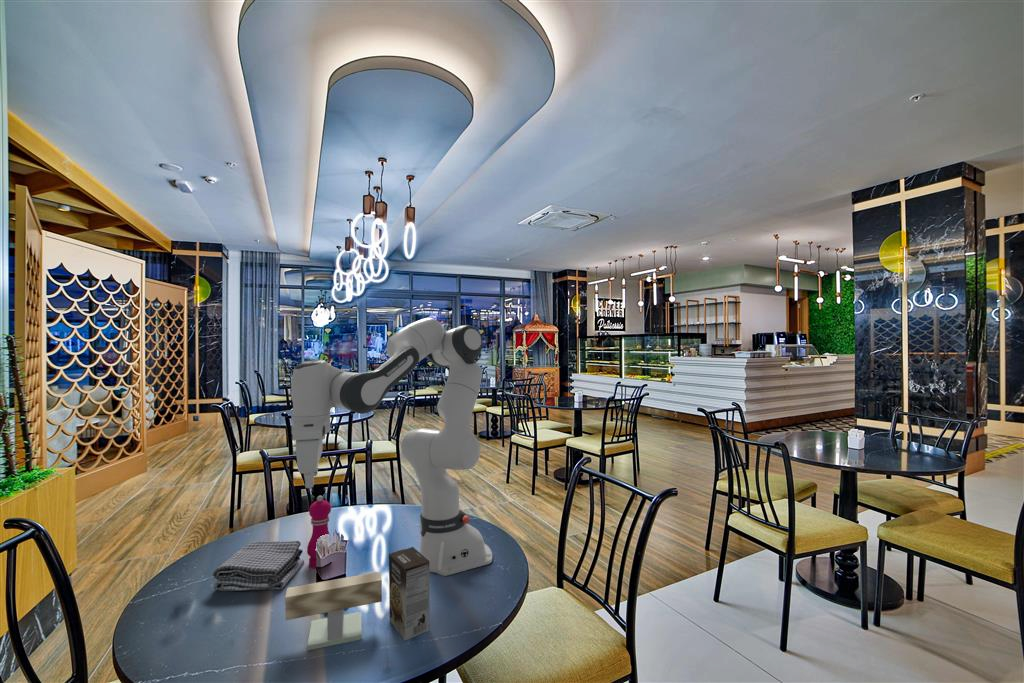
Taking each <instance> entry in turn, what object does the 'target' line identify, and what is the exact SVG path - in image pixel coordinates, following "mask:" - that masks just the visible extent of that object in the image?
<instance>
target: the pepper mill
mask: <svg viewBox="0 0 1024 683" xmlns="http://www.w3.org/2000/svg"><path fill="white" fill-rule="evenodd" d="M331 511H332V505H331V504H330V502H329V501H328V500H326V499H325V500H324V496H322V495H318V496H317V497H316V501H314V502H312V503H311V504H310V507H309V510H308V514H309V516H310V517H311V518H310V521H311V522H310V524H311V525H312V533H311V536H310V539H309V542H308V543H307V550H306V553H307V555H308V557H309V558H308V566H309V567H310V568H313V569H317V568H316V551H315V549H316V542H317V539H318V538H319V537H320V536H322V535H325V534H330V532H329V526H328V524H329V522H330V516H329V515H330V513H331Z"/></svg>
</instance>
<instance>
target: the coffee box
mask: <svg viewBox="0 0 1024 683" xmlns="http://www.w3.org/2000/svg"><path fill="white" fill-rule="evenodd" d="M430 573H431V572H430V561H429V560H428V559H426V558H425V557H424V556H423V555H422V554H421V553H419V550H417V549H416V548H415V547H414V546H412V547H408V548H403V549H400V550H397V551H393V552H390V553H389V554H388V579H389V581H388V582H389V585H388V586H389V588H388V589H389V590H388V592H389V593H388V594H389V596H388V597H389V599H388V600H389V622H390V623H391V624H392V626H393V627H394V628H395V629H396V631H397V632H398V633H399V635H400V636H401V637H402V639H403V640H404V641H408V640H410V639H413V638H415V637H417V636H419V635H422V634H424V633H426V632H429V631H430V629H431V628H430V602H431V600H430V598H431V596H430V595H431V594H430V593H431V592H430V590H431V587H430V586H431V585H430V580H431V579H430V577H431V574H430Z"/></svg>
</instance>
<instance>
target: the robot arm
mask: <svg viewBox="0 0 1024 683" xmlns="http://www.w3.org/2000/svg"><path fill="white" fill-rule="evenodd" d="M483 342H484V341H483V336H482V333H481V332H480V330H479V329H478V328H477V327H476V326H473V325H470V324H464V325H463V324H462V325H459V326H457V327H454V328H451V329H448V330H445V329H444V328H443V325H442V324H441V322H439V320H437V319H436V318H434V317H424V318H421V319H419V320H416V321H414V322H411V323H409V324H407V325H406V326H404V327H403V328H401V329H400V330H397V331H396V332H394V334H393V335H391V336H390V338H388V340H387V344H386V352H387V356H388V357H389V359H387V360H386V361H384V362H383V363H382V364H381V365H379V366H378V367H377V368H376V369H374V370H372V371H368V372H351V371H346V370H343V369H340V368H337V367H336V366H333V365H332V364H330V363H328V361H326V360H324V359H314V360H313V359H311V360H307V361H302V362H301V363H299V364H297V365H296V366H295V367H294V368H293V371H292V377H291V387H290V388H291V389H290V392H291V393H290V394H291V395H290V397H291V402H292V411H291V435H292V441H295V454H296V464H297V471H298V473H299V474H303V477H304V478H303V479H304V482H305V484H304V485H305V486H304V487H305V488H306V489H312V488H314V485H315V477H316V476H317V475H318V474H319V473H318V472H319V470H318V469H319V462H320V459H321V456H322V454H323V450H324V447H323V446H324V445H323V440H324V439H325V438H326V434H328V433H330V432H331V409H332V408H338V409H343V410H348V411H350V412H354V413H357V414H360V415H361V414H368V413H370V412H373V411H374V410H375V409H377V408H378V407H379V405H380V404H381V402H383V400H384V398H385V396H386V395H387V394H388V392H389V391H390V390H391V389H393V387H395V386H396V385H397V384H398V383H399V382H400V381H401V380H402V379H403V378H405V377H407V375H408V374H409V373H410V372H412V370H414V369H415V367H416V366H417V365H418V363H419V362H421V361H422V360H423V359H425V358H427V360H428V361H429V362H430V363H431V364H432V365H433V366H435V367H438V368H446V367H449V372H448V376H447V377H448V378H447V380H446V382H445V384H444V387H443V389H442V392H441V395H440V397H439V400H438V403H437V404H436V410H437V413H438V415H439V416H440V417H441V418H442V420H444V426H443V428H442V429H436V428H428V427H427V428H425V427H422V428H415V429H414V428H413V429H411V430H409V431H407V432H406V433H405V435H404V436H403V438H402V440H401V445H400V449H401V450H400V451H401V454H402V457H403V458H404V460H406V461H407V462H408V463H409V465H410V466H411V467H412V469H413V471H414V473H415V476H416V478H417V480H418V481H417V482H418V483H419V488H420V496H421V497H420V498H421V513H420V516H419V533H420V542H419V543H420V544H419V548H418V552H419V553H421V554H422V555H423V556H424V557H425V558H426V559H428V560H429V561H430V573H436V574H438V575H440V576H444V577H447V576H451V575H454V574H458V573H461V572H465V571H468V570H471V569H475V568H478V567H479V568H480V567H482V566H486V565H490V564H491V563H492V561H493V559H494V558H493V551H492V550H491V547H489V546H488V544H486V543H485V541H484V538H483V536H482V534H481V532H480V531H479V530H478V528H475V527H474V526H472V525H471V524H470V522H471V519H470V517H469V516H468V515H467V514H466V512H465V511H463V509H461V508H460V488H459V485H458V483H457V482H456V481H455V480H454V479H453V478H452V477H451V476H450V475H449V473H448V471H447V470H453V471H462V470H463V471H465V470H471V469H473V468H474V467H475V466H476V465H477V464H478V462H479V460H480V457H481V452H482V450H481V445H480V442H479V439H478V438H477V437H476V436H475V434H474V432H473V429H472V416H473V412H474V408H475V404H476V403H477V400H478V396H479V392H480V389H481V383H482V380H483V379H482V378H483V369H482V367H481V366H480V364H478V363H477V362H478V361H479V360H480V359H481V358H482V349H483V347H484V346H483V345H484V344H483Z"/></svg>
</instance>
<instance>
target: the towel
mask: <svg viewBox="0 0 1024 683" xmlns="http://www.w3.org/2000/svg"><path fill="white" fill-rule="evenodd" d="M301 544H302V543H301V541H299V540H290V541H289V540H287V541H286V540H285V541H271V540H269V541H250V542H249V543H247V544H245V545H243V546H242V547H241V548H240V549H238V550H237V551H236V552H235V553H234V554H232V556H230V557H229V558H228V559H226V560H225V561H224V562H223V563H221V565H219V566H218V567H217V568H216V569H214V571H213V573H212V576H213V578H214V579H215V580H217V581H216V582H215V583H214V586H213V589H214V590H215V591H220V592H236V591H242V592H243V591H259V590H260V591H261V590H263V591H264V590H265V591H266V590H279V591H281V590H282V589H283V588H284V587H285V586H287V585H288V582H289V581H290V580H291V579H292V578H293V576H295V574H296V573H297V572H298V571H299V570H300V568H302V567H303V565H304V563H305V561H304V560H303V559H302V558H301V557H300V556H302V554H303V551H304V550H303V549H301V548H300V547H301Z"/></svg>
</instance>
